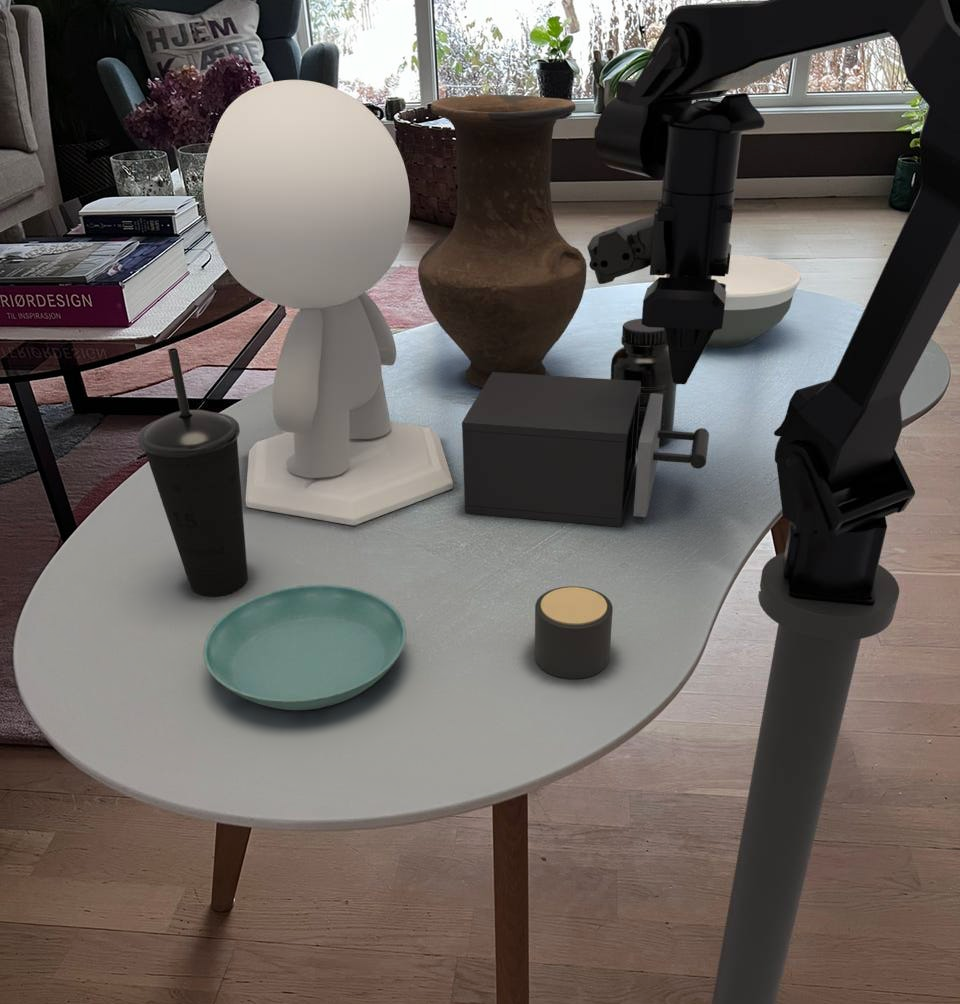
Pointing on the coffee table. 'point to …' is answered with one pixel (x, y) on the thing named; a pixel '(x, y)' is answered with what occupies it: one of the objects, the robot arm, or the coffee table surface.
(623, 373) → the supplement bottle
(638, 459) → the drawer
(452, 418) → the coffee table surface
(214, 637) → the saucer
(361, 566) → the coffee table surface
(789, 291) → the bowl
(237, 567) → the drinking cup
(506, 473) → the drawer cabinet
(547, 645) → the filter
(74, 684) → the coffee table surface
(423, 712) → the coffee table surface
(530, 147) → the vase
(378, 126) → the white cartoon figure
